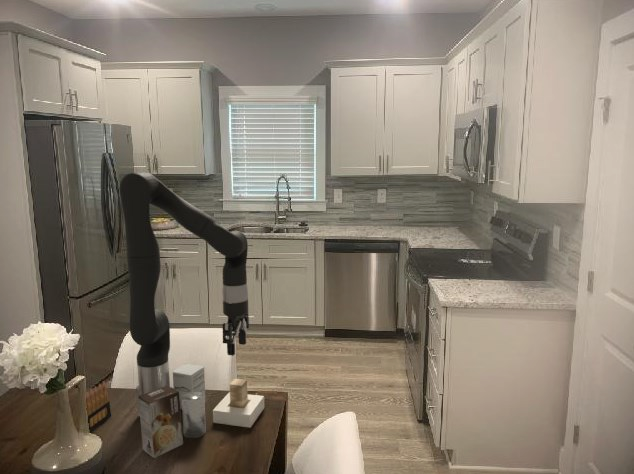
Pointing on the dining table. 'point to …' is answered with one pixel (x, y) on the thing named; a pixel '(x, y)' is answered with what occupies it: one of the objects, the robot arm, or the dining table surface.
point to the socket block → (238, 411)
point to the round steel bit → (193, 415)
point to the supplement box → (189, 380)
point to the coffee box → (160, 420)
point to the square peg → (238, 393)
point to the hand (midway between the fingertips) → (237, 349)
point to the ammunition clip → (97, 406)
